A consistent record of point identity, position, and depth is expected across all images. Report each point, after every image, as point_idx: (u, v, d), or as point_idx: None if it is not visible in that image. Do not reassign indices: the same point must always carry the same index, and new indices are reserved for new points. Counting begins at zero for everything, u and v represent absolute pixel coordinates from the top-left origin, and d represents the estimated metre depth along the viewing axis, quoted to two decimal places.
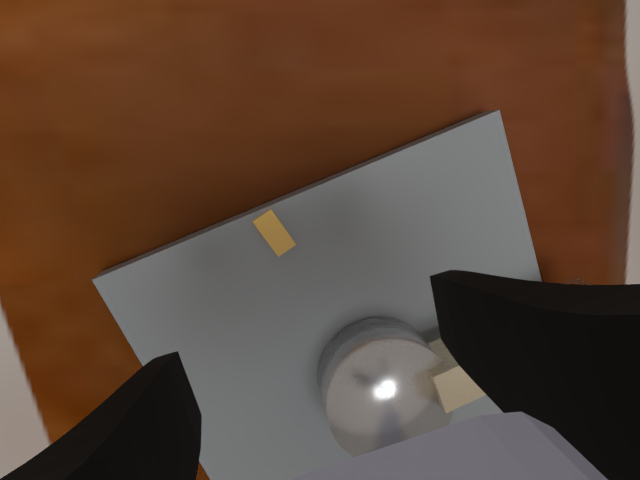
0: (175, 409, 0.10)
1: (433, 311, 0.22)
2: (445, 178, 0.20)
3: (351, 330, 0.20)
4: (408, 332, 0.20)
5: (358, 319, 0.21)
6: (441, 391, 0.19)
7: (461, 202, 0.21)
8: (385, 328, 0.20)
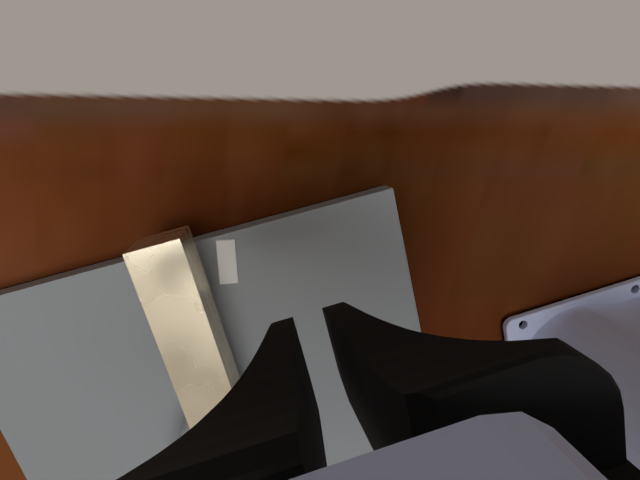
0: (304, 369, 0.10)
1: None
2: (23, 368, 0.19)
3: None
4: (181, 434, 0.19)
5: None
6: None
7: (52, 350, 0.19)
8: None
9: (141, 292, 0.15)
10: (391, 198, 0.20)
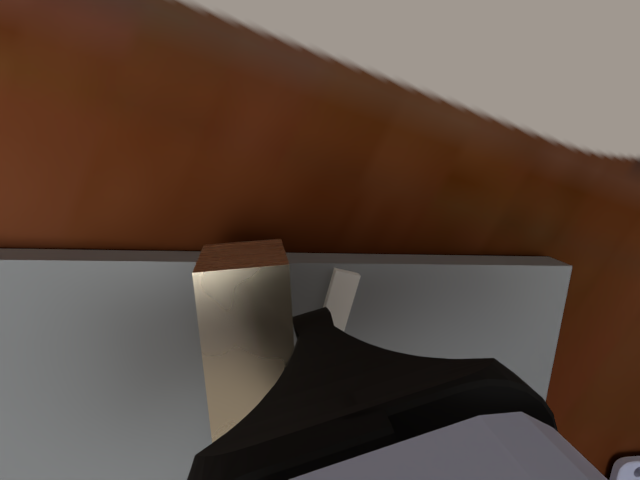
0: None
1: None
2: None
3: None
4: None
5: None
6: None
7: (50, 359, 0.12)
8: None
9: (206, 339, 0.09)
10: (565, 278, 0.15)
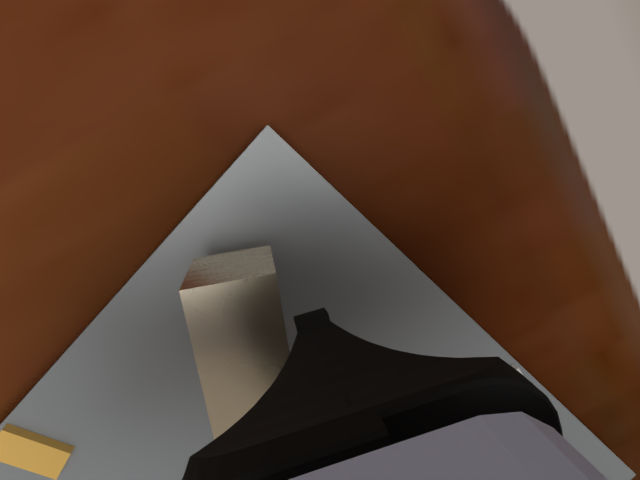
0: None
1: None
2: None
3: None
4: None
5: None
6: None
7: (287, 280, 0.13)
8: None
9: (201, 355, 0.09)
10: None
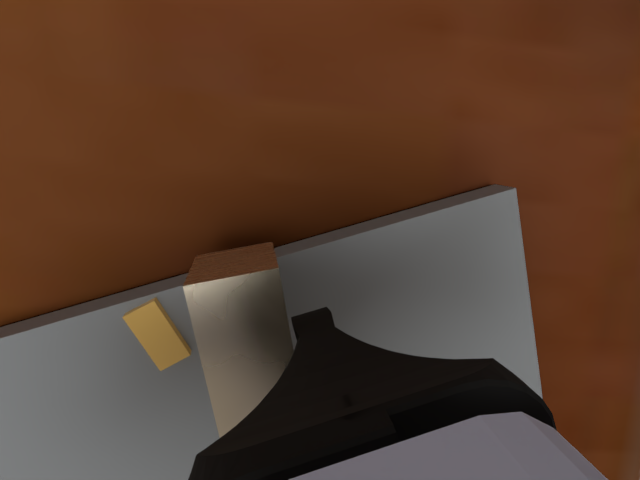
0: None
1: None
2: (426, 277, 0.14)
3: None
4: None
5: None
6: None
7: (446, 312, 0.14)
8: None
9: (205, 350, 0.09)
10: None
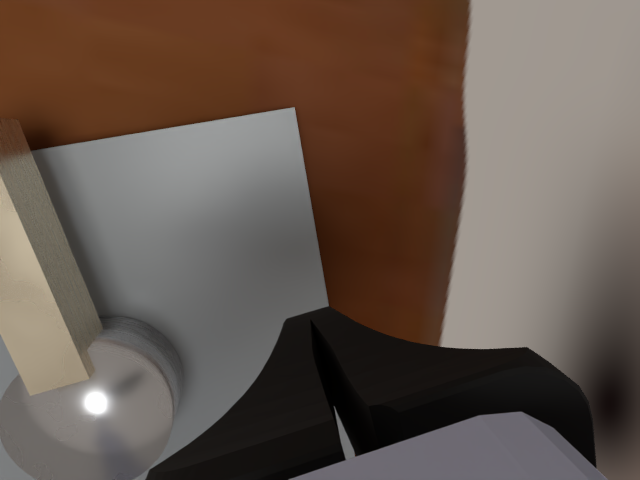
0: (321, 364, 0.10)
1: (193, 323, 0.19)
2: (221, 172, 0.17)
3: None
4: None
5: None
6: (54, 385, 0.15)
7: (239, 203, 0.18)
8: None
9: None
10: None
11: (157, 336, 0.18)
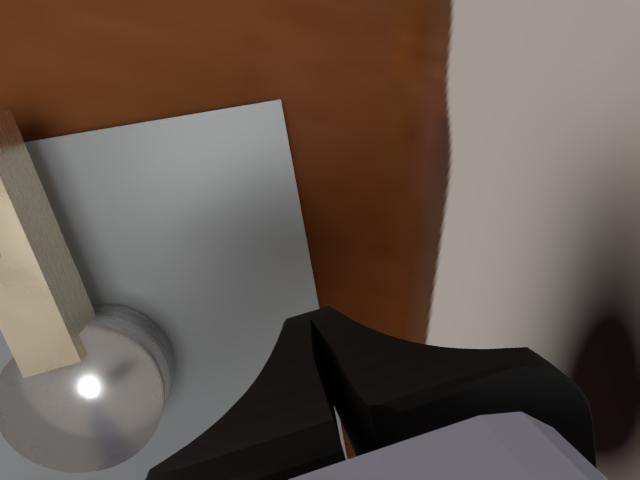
0: (321, 364, 0.10)
1: (184, 311, 0.19)
2: (209, 162, 0.18)
3: None
4: None
5: None
6: (46, 368, 0.15)
7: (227, 193, 0.18)
8: None
9: None
10: None
11: (148, 323, 0.19)
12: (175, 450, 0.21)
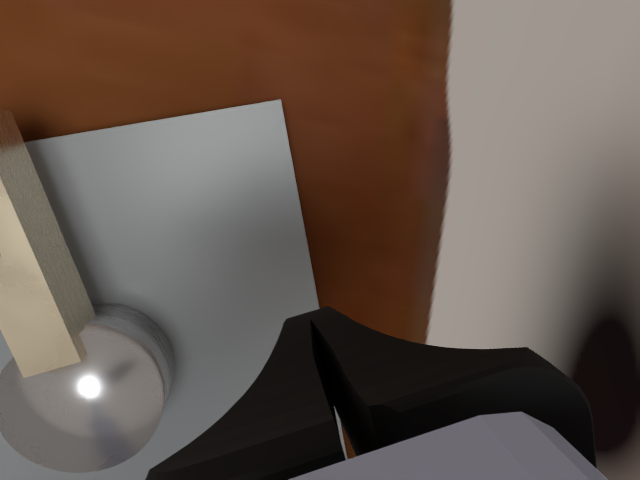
0: (321, 364, 0.10)
1: (184, 311, 0.19)
2: (209, 162, 0.18)
3: None
4: None
5: None
6: (46, 368, 0.15)
7: (227, 193, 0.18)
8: None
9: None
10: None
11: (148, 323, 0.19)
12: (175, 450, 0.21)
